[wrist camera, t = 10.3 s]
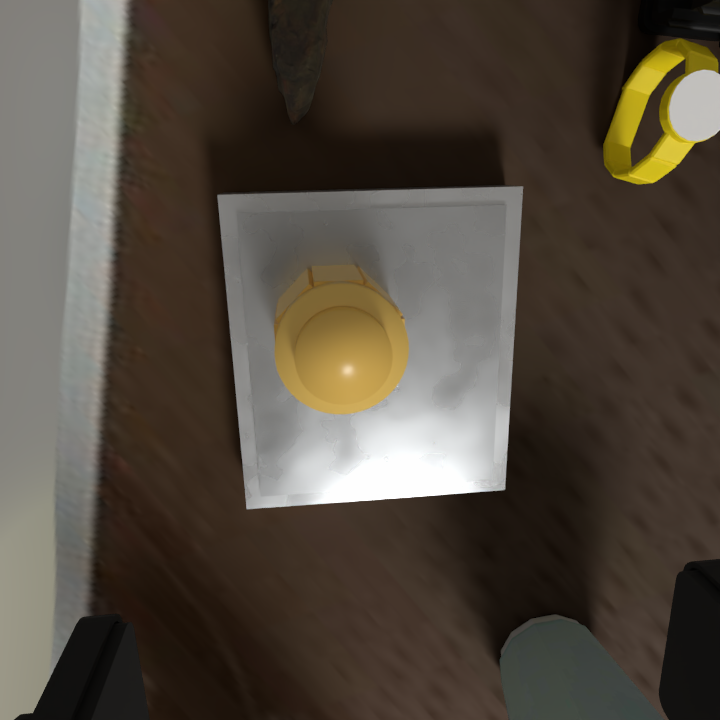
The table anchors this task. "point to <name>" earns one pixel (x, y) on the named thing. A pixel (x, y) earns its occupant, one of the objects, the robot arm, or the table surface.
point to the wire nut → (339, 340)
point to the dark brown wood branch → (298, 49)
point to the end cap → (681, 18)
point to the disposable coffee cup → (566, 676)
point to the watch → (665, 111)
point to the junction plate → (422, 322)
